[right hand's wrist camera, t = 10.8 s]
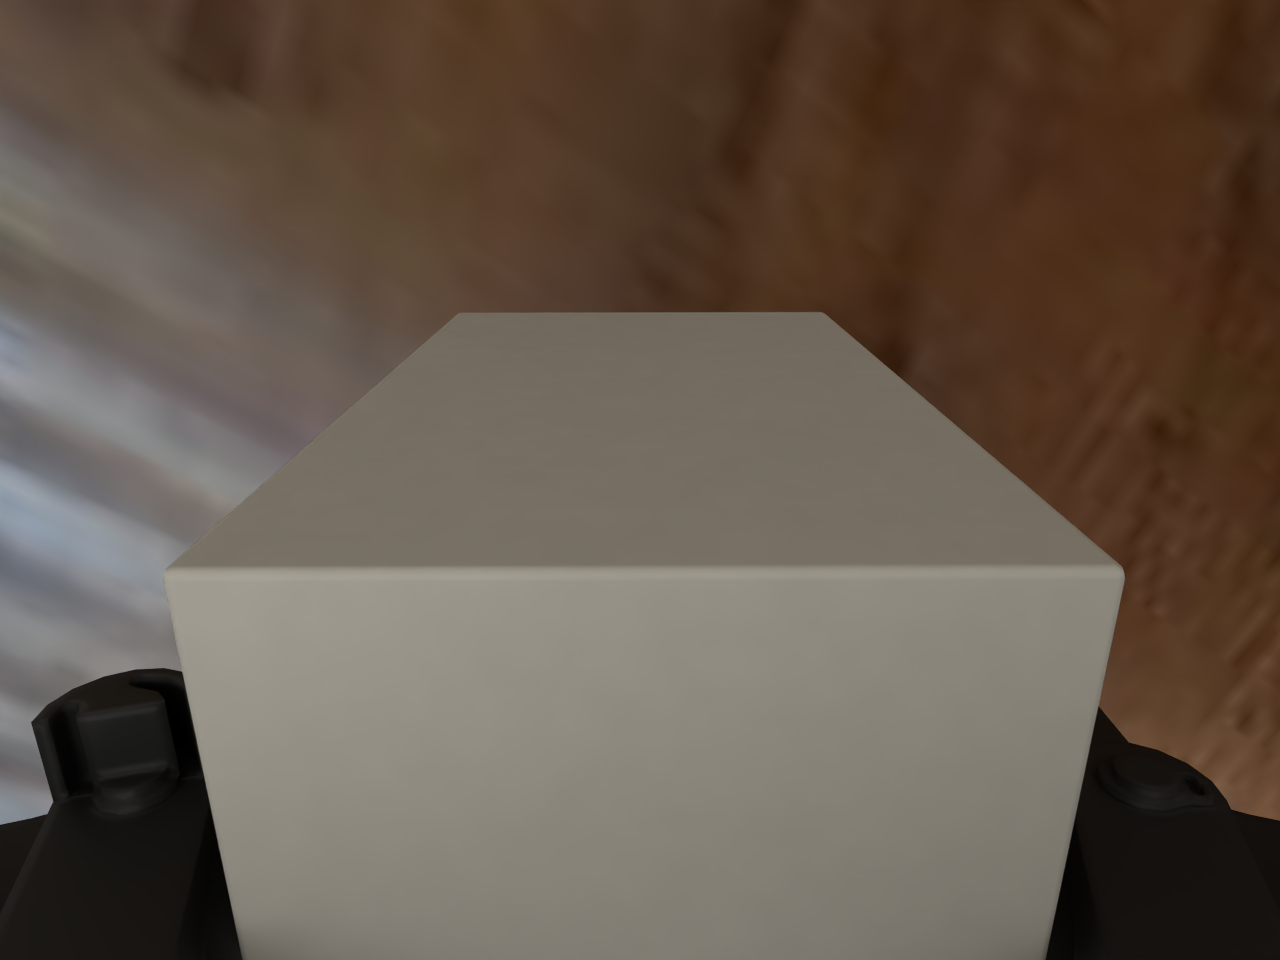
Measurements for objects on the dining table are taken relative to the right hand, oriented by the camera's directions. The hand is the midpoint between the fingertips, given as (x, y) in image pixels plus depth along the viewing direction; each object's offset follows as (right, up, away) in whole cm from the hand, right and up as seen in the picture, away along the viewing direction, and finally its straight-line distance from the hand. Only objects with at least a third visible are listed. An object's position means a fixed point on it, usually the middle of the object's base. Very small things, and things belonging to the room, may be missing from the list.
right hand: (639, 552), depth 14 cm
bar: (0, -11, +5) cm, 12 cm away
